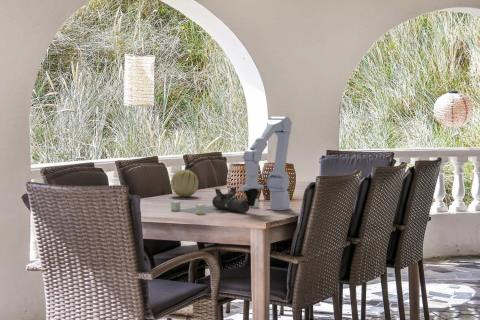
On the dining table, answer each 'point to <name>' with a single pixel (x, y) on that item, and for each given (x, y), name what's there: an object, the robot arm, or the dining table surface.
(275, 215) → the dining table surface
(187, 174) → the cantaloupe
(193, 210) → the bay
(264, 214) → the dining table surface
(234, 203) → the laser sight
